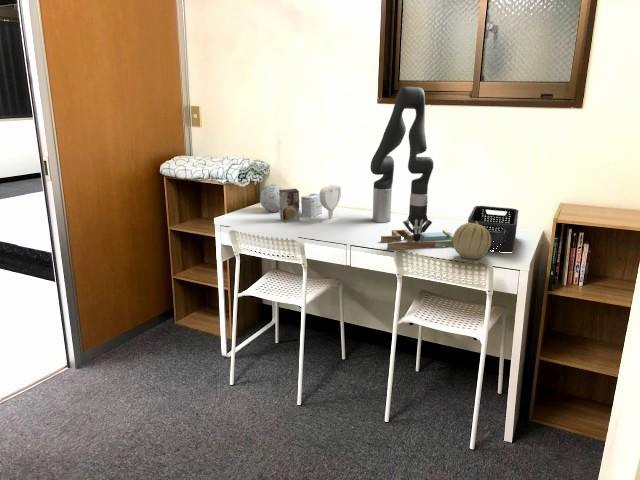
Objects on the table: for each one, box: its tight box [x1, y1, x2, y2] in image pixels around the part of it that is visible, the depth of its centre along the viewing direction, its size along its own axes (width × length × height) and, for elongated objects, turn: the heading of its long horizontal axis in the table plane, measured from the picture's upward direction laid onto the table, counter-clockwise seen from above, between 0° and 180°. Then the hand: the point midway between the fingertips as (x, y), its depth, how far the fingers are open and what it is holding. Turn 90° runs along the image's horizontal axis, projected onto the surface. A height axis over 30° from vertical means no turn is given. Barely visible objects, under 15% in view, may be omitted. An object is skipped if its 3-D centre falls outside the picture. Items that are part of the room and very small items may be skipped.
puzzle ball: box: [259, 184, 284, 213], centre depth 280 cm, size 15×15×15 cm
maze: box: [380, 229, 454, 251], centre depth 227 cm, size 21×30×4 cm
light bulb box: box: [300, 193, 323, 218], centre depth 273 cm, size 11×7×11 cm, turn 144°
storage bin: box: [467, 205, 519, 253], centre depth 223 cm, size 29×19×13 cm
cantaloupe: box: [452, 221, 491, 260], centre depth 203 cm, size 15×15×15 cm
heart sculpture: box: [319, 184, 342, 224], centre depth 260 cm, size 16×5×18 cm, turn 147°
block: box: [419, 231, 447, 242], centre depth 223 cm, size 6×10×4 cm, turn 98°
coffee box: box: [279, 188, 301, 223], centre depth 261 cm, size 9×6×16 cm
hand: (416, 241), depth 223 cm, fingers closed
